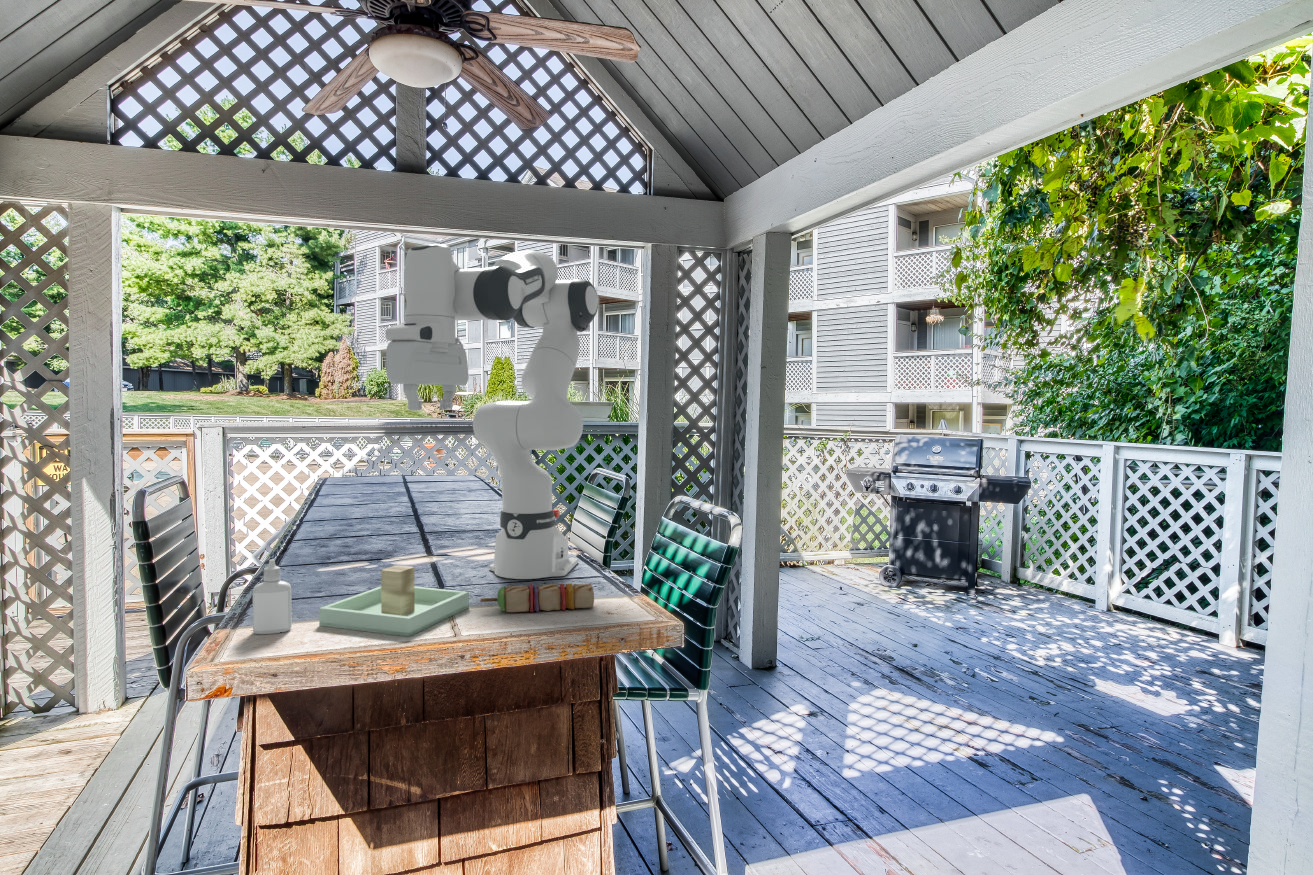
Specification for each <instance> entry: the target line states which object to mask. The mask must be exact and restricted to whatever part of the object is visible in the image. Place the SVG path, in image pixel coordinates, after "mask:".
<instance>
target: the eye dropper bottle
mask: <svg viewBox="0 0 1313 875" xmlns="http://www.w3.org/2000/svg"><path fill="white" fill-rule="evenodd" d="M268 561H269V562H268V565H267V566H266V567H264V568H263V581H262V582H260V583H258V584H256V585H255V586H254V587H253V589H252V632H253V634H255V635H274V634H275V635H276V634H279V633H280V632H282V633H285V632H289V631H290V630H291V628H292V626H293V622H292V621H293V620H292V615H293V614H292V611H293V610H292V607H293V606H292V586H291V584H290V583H289V582H288V581H284V580H281V567H280V566H278V565H276V562H275V559H269V560H268Z"/></svg>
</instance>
